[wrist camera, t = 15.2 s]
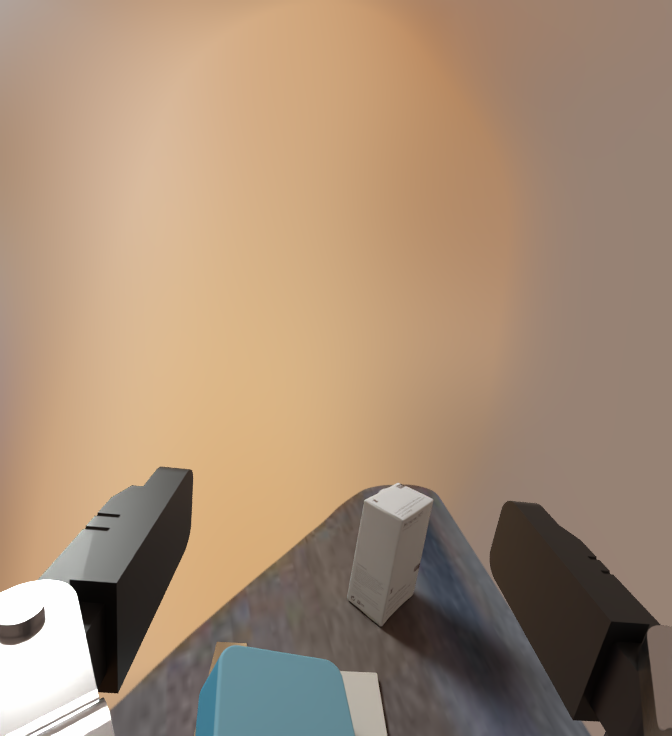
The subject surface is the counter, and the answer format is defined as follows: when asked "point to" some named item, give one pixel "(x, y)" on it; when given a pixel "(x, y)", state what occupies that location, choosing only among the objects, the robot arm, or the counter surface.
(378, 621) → the skincare box
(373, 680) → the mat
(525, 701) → the counter surface
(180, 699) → the counter surface
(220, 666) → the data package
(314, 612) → the counter surface
